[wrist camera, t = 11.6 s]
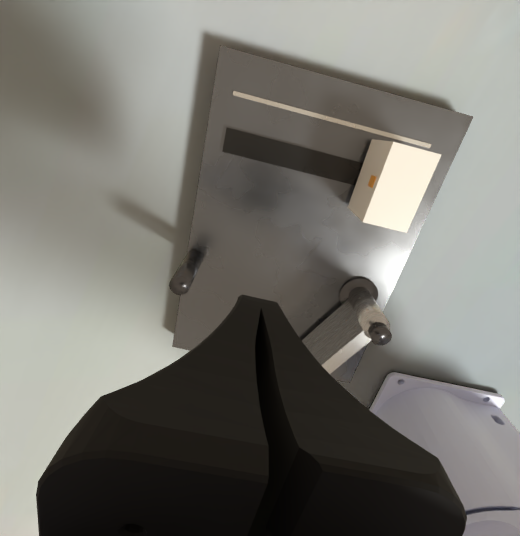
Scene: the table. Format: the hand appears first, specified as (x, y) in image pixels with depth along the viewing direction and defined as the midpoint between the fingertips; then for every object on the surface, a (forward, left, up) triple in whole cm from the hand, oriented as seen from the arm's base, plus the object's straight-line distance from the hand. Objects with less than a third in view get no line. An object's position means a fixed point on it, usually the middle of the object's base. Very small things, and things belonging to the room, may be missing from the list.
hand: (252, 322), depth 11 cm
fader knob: (-5, -5, -8) cm, 11 cm away
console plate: (-3, 0, -10) cm, 10 cm away
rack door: (-5, +6, -8) cm, 11 cm away
